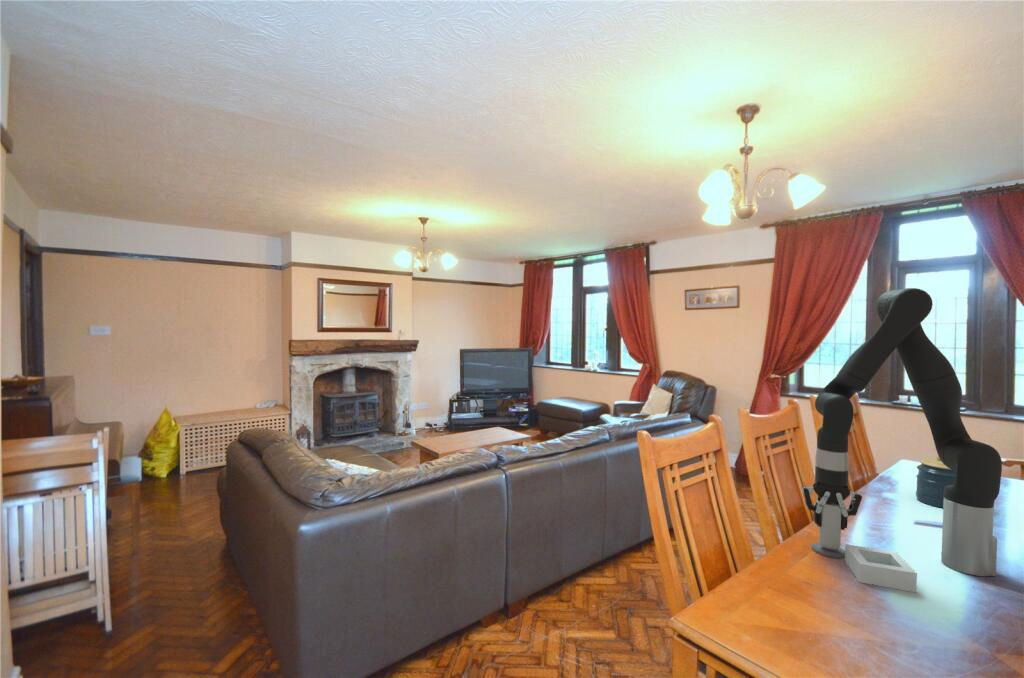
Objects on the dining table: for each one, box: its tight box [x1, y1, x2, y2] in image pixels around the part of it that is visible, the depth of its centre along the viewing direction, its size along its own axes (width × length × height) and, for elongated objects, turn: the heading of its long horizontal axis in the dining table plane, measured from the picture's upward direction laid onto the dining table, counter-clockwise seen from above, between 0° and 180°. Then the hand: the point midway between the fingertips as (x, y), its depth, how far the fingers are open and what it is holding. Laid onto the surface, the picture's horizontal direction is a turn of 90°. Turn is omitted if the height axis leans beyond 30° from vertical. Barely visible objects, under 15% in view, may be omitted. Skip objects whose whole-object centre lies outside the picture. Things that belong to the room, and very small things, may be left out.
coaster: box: [811, 542, 845, 560], centre depth 126 cm, size 8×8×1 cm
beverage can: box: [818, 503, 842, 550], centre depth 126 cm, size 5×5×12 cm
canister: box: [915, 454, 957, 509], centre depth 163 cm, size 13×13×18 cm
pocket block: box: [844, 543, 918, 593], centre depth 114 cm, size 11×11×4 cm
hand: (830, 526), depth 126 cm, fingers closed on beverage can, 4 cm apart
